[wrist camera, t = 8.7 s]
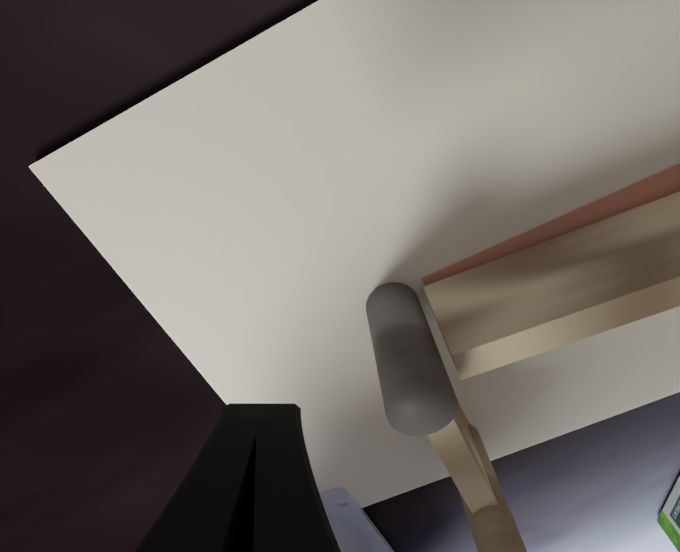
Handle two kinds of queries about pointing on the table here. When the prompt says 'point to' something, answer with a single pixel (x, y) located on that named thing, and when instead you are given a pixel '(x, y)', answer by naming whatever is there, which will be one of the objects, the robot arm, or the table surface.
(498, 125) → the mat
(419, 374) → the fixed fence section
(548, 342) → the beige long t-shaped piece
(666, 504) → the syrup box
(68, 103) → the table surface
